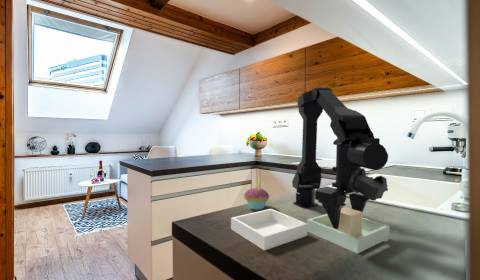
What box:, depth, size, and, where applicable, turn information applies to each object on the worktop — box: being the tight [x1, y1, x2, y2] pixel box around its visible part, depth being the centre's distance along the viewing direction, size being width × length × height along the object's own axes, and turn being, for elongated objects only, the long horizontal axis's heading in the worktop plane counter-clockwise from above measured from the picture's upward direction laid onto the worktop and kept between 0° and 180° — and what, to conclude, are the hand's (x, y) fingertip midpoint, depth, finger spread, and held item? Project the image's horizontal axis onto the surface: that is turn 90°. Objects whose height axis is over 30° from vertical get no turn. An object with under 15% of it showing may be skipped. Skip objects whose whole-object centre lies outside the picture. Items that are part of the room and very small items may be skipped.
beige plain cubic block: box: [332, 206, 363, 237], centre depth 62 cm, size 5×5×6 cm
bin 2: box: [306, 213, 391, 254], centre depth 62 cm, size 14×14×4 cm
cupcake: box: [243, 174, 270, 211], centre depth 83 cm, size 9×8×12 cm
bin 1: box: [230, 208, 309, 251], centre depth 63 cm, size 14×14×4 cm
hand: (346, 224), depth 62 cm, fingers open, 9 cm apart
